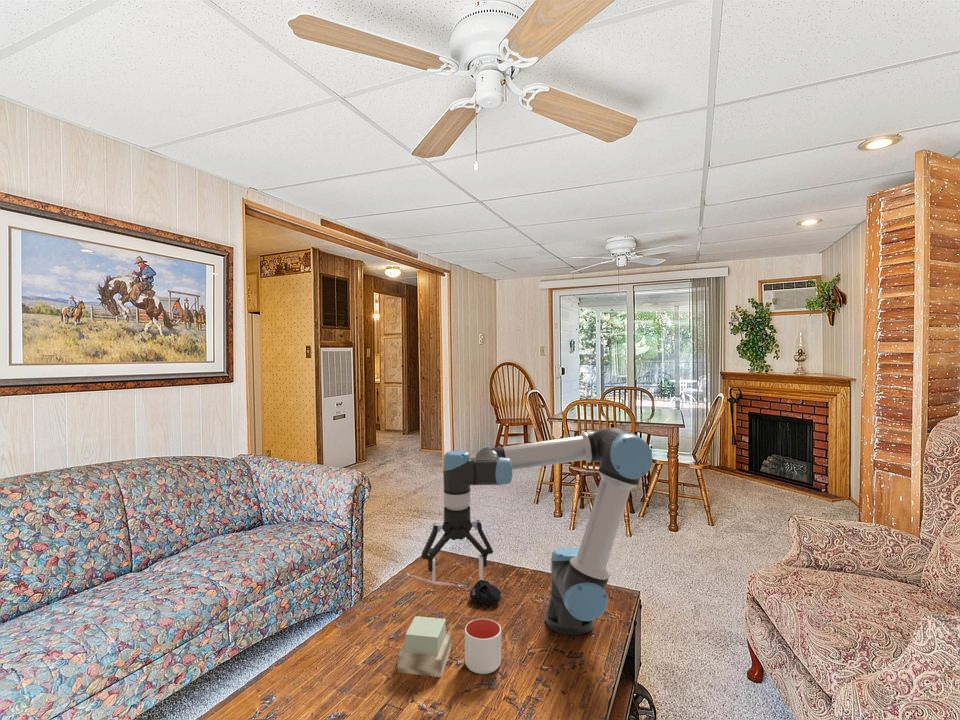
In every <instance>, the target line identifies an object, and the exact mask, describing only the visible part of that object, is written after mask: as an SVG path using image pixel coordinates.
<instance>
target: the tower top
mask: <svg viewBox="0 0 960 720" xmlns="http://www.w3.org/2000/svg"><path fill="white" fill-rule="evenodd" d="M446 620H447V619H446V618H439V617H438V618H437V617H429V616H427V617H426V616H419V615H417V616H416V615H415V616H414V618H413V620H412V622H411V623H410V626H409V627H408V628H407V631H406V633H405V637H404V638H405V639H404V642H405V652H407V653H416V654H425V655H434V656H438V654H439V652H440V649H441V647H442V644H443V642H444V639H445V637H446V632H447V631H446Z"/></svg>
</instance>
